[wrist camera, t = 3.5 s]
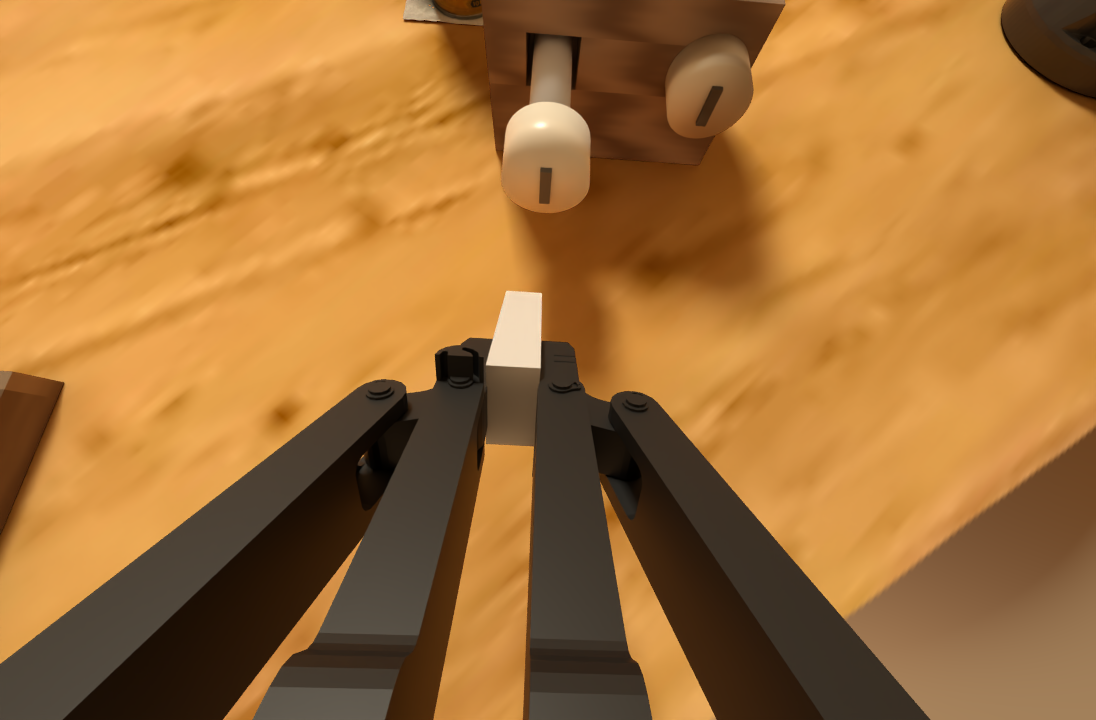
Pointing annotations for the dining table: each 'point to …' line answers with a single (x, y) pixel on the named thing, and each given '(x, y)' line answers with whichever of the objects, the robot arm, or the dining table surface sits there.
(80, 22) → the dining table surface
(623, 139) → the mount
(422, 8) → the condiment
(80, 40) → the dining table surface
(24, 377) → the frame
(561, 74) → the knob
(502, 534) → the dining table surface
